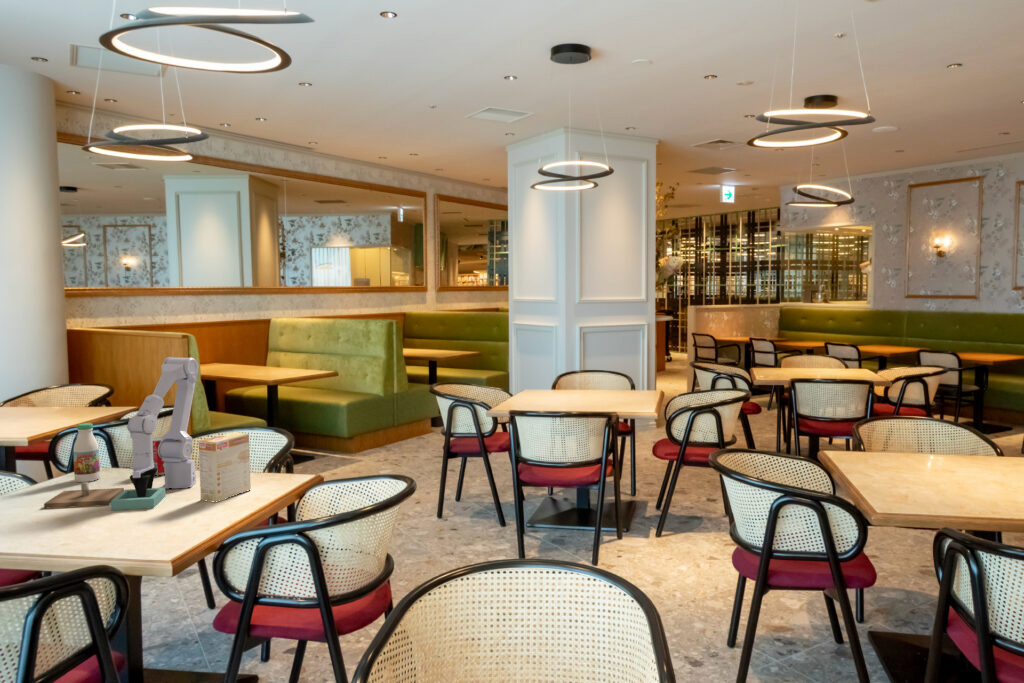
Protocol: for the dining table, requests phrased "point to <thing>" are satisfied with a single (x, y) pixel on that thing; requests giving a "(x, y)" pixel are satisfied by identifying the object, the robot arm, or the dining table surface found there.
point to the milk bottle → (86, 455)
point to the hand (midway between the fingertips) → (144, 494)
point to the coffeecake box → (224, 466)
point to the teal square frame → (137, 499)
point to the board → (84, 497)
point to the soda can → (157, 456)
